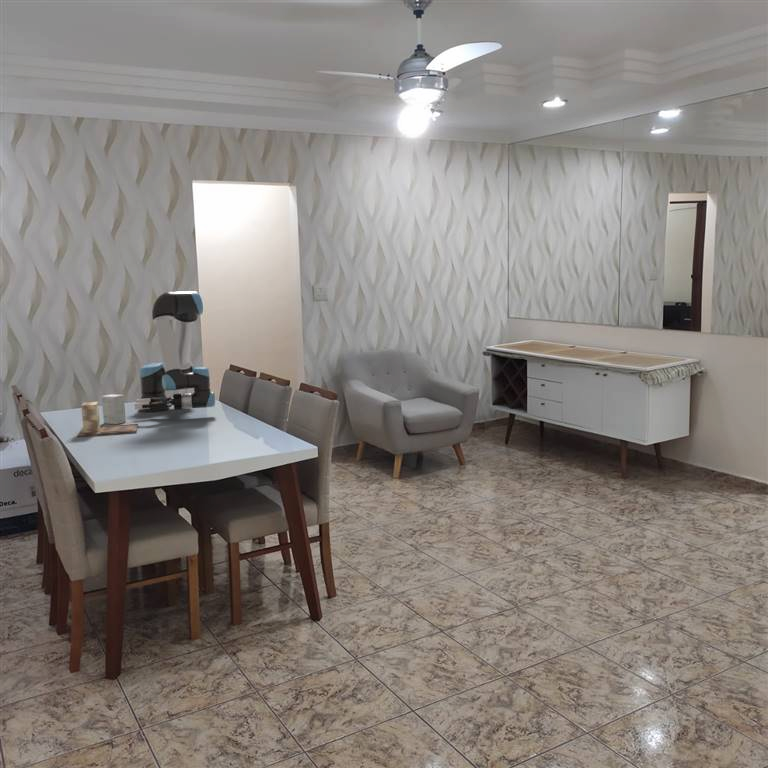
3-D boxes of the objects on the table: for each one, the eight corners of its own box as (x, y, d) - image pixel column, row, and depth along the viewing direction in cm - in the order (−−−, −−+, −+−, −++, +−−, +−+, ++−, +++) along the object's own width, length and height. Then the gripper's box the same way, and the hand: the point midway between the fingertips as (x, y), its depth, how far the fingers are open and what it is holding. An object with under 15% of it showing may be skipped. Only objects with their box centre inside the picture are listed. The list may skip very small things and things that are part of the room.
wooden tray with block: (138, 425, 344) (136, 397, 342) (136, 433, 329) (134, 403, 327) (82, 429, 338) (79, 401, 336) (77, 437, 323) (75, 407, 321)
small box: (126, 422, 354) (124, 394, 352) (115, 424, 348) (113, 397, 346) (113, 420, 357) (111, 393, 355) (103, 423, 352) (101, 395, 350)
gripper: (182, 413, 348) (134, 416, 342) (182, 405, 372) (137, 408, 366) (181, 397, 347) (133, 400, 341) (181, 390, 371) (136, 392, 365)
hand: (135, 404), depth 354 cm, fingers open, 13 cm apart
